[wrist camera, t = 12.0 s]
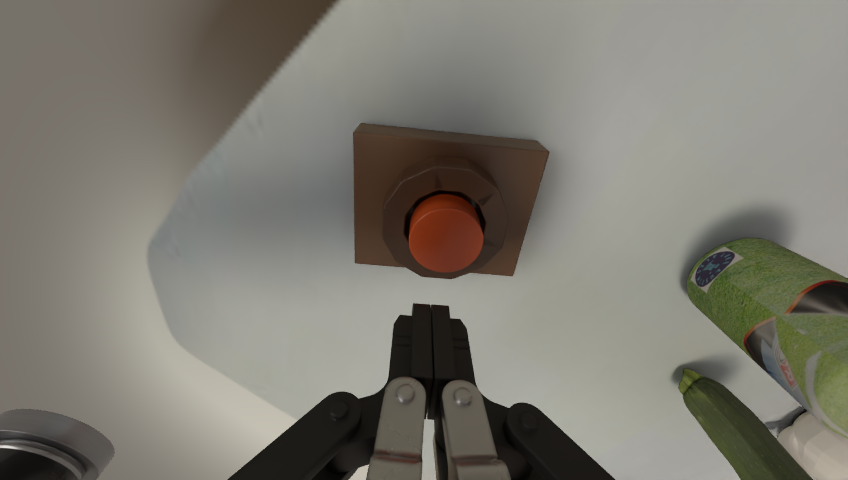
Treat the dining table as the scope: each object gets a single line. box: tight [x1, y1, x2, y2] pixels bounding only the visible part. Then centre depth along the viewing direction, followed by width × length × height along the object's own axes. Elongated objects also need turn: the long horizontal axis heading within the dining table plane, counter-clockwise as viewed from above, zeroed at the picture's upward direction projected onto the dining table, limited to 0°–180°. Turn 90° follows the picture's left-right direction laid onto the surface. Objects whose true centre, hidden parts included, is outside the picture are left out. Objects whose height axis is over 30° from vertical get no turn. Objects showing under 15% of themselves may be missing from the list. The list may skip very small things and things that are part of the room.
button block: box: [353, 123, 549, 279], centre depth 19 cm, size 10×8×4 cm
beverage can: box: [687, 238, 848, 438], centre depth 18 cm, size 6×7×12 cm
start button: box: [409, 194, 483, 272], centre depth 17 cm, size 4×4×2 cm
